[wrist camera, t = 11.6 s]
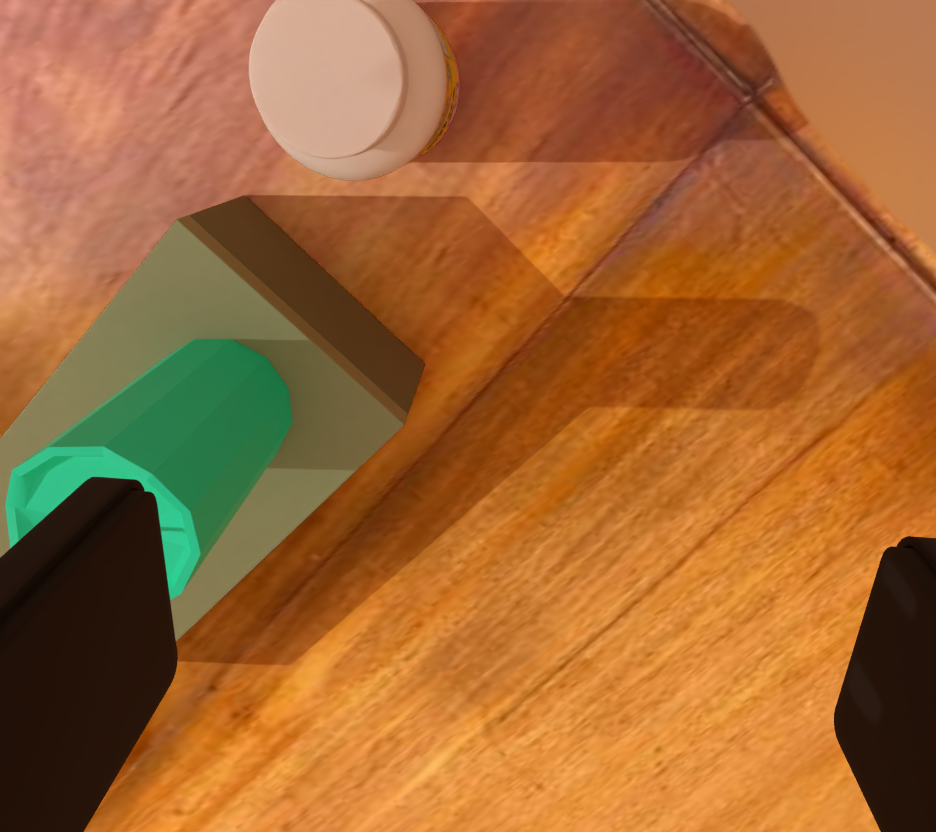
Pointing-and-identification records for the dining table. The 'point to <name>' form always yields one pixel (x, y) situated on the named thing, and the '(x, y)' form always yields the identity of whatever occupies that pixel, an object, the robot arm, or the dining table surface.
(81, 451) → the candle
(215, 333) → the shelf
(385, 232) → the dining table surface
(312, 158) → the supplement bottle
